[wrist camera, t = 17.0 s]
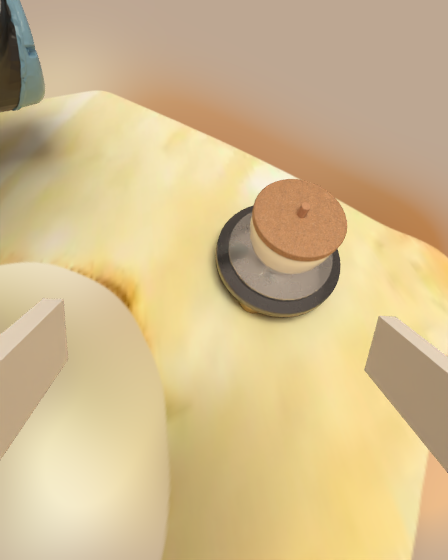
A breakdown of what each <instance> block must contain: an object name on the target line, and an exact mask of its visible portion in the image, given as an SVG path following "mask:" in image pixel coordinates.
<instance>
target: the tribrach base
mask: <svg viewBox="0 0 448 560" xmlns="http://www.w3.org/2000/svg"><path fill="white" fill-rule="evenodd" d="M253 207H254V206H251V207H248V208H246V209H243V210H241V211H240V212H238V213H237V214H235V215H234V216H233V217H232V218H230V219H229V221H228V222H227V223H226V224H225V226H224V227H223V229H222V231H221V233H220V236H219V239H218V243H217V249H216V264H217V269H218V272H219V275H220V277H221V279H222V281H223V283H224V285H225V286H226V288H227V289H228V291H229V292H230V293H231V294H232V295H233V296H234V297H235V298H236V299H237V300H238V301H239V303H240V305H241V307H242V308H243V309H244V310H246V311H247V312H250V313H258V312H259V313H262V314H265V315H269V316H275V317H293V316H298V315H302V314H305V313H307V312H310V311H312V310H313V309H315V308H316V307H318V306H319V305H320V304H321V303H322V302H324V301H325V300H326V299H327V298H328V297H329V295H330V294H331V293H332V292H333V290H334V288H335V287H336V284H337V282H338V279H339V274H340V257H339V253H338V250H337V249H336V251H335V252H333V253H332V254H331V255H330V256H329V257H328V258H327V259H326V260H325V261H324V262H323V263H321V264H320V265H319V266H317V267H316V268H314V269H312V270H310V271H307V272H304V273H300V274H284V273H280V272H277V271H274V270H272V269H270V268H269V267H267V266H266V265H265V264H264V263H262V262H261V260H260V259H259V258H258V257H257V255H256V254H255V252H254V250H253V247H252V244H251V241H250V221H251V217H252V211H253Z"/></svg>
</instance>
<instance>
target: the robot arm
mask: <svg viewBox="0 0 448 560" xmlns="http://www.w3.org/2000/svg"><path fill="white" fill-rule="evenodd" d="M44 94H45V84H44V78H43V74H42V69H41V65H40V62H39V58H38V55H37V53H36V50H35V45H34V42H33V37H32V34H31V31H30V28H29V25H28V22H27V19H26V16H25V13H24V10H23V8H22V5H21V2H20V0H0V112H4V111H10V110H13V111H16V110H19V109H20V108H21V107H25V106H29V105H33V104H37V103H39V102H40V101H41V100H42V99H43V97H44ZM67 360H68V352H67V339H66V327H65V313H64V301H63V299H48V298H43V299H42V300H41V301H39V302H38V303H37V304H36V305H35V306H33V307H32V308H31V309H30V310H29V311H27V312H26V313H25V314H24V315H23V316H22V317H20V318H19V319H18V320H17V321H16V322H14V323H13V324H12V325H11V326H10V327H9V328H7V329H6V330H5V331H4V332H3V333H1V334H0V460H1V458H2V457H3V455H4V454H5V452H6V451H7V449H8V448H9V446H10V445H11V443H12V442H13V440H14V439H15V437H16V436H17V434H18V433H19V431H20V430H21V429H22V427H23V426H24V424H25V422H26V421H27V420H28V418H29V417H30V415H31V414H32V412H33V411H34V409H35V408H36V406H37V405H38V403H39V402H40V400H41V399H42V397H43V396H44V394H45V393H46V392H47V390H48V389H49V387H50V386H51V384H52V383H53V381H54V380H55V378H56V377H57V375H58V374H59V372H60V371H61V369H62V368H63V366H64V365H65V363H66V362H67ZM365 372H366V373H367V374H368V375H369V376H370V378H371V379H372V380H373V381H374V383H375V384H376V385H377V386H378V388H379V389H380V390H381V391H382V393H383V394H384V395H385V396H386V397H387V399H388V400H389V401H390V402H391V404H392V405H393V406H394V407H395V409H396V410H397V411H398V412H399V413H400V415H401V416H402V417H403V418H404V420H405V421H406V422H407V423H408V425H409V426H410V427H411V428H412V429H413V431H414V432H415V433H416V434H417V436H418V437H419V438H420V439H421V441H422V442H423V443H424V444H425V445H426V447H427V448H428V449H429V450H430V452H431V453H432V454H433V455H434V457H435V458H436V459H437V460H438V461H439V463H440V464H441V465H442V466H443V467H444V469H445V470H446V471H447V473H448V357H447V356H446V355H445V354H444V353H442V352H441V351H440V350H438V349H437V348H436V347H434V346H433V345H432V344H430V343H429V342H428V341H427V340H425V339H424V338H423V337H421V336H420V335H419V334H417V333H416V332H415V331H413V330H412V329H411V328H410V327H408V326H407V325H406V324H404V323H403V322H402V321H400V320H399V319H398V318H396V317H390V316H379V317H378V321H377V325H376V329H375V332H374V336H373V340H372V344H371V347H370V351H369V355H368V358H367V362H366V366H365Z"/></svg>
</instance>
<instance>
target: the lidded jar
mask: <svg viewBox="0 0 448 560" xmlns="http://www.w3.org/2000/svg"><path fill="white" fill-rule="evenodd" d="M346 232H347V220H346V216H345V213H344V211H343V209H342V207H341V205H340V204H339V202H338V201H337V200H336V199H335V197H334V196H332V195H331V194H330V193H329V192H328V191H326V190H325V189H323V188H322V187H320V186H318V185H316V184H314V183H311V182H308V181H304V180H298V179H286V180H280V181H277V182H274V183H272V184H270V185H268V186H266V187H265V188H264V189H263V190H262V191H261V192H260V193H259V195H258V196H257V198H256V200H255V203H254V207H253V211H252V217H251V221H250V241H251V244H252V247H253V250H254V252H255V254H256V255H257V257H258V258H259V259H260V260H261V262H262V263H264V264H265V265H266V266H267V267H269V268H270V269H272V270H274V271H277V272H280V273H284V274H300V273H304V272H307V271H310V270H312V269H314V268H316V267H317V266H319V265H320V264H321V263H323V262H324V261H325V260H326V259H327V258H328V257H329V256H330V255H331V254H332V253H333V252H335V251H336V249H337V248H338V247H339V246H340V245H341V244H342V242H343V240H344V238H345V235H346Z"/></svg>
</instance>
